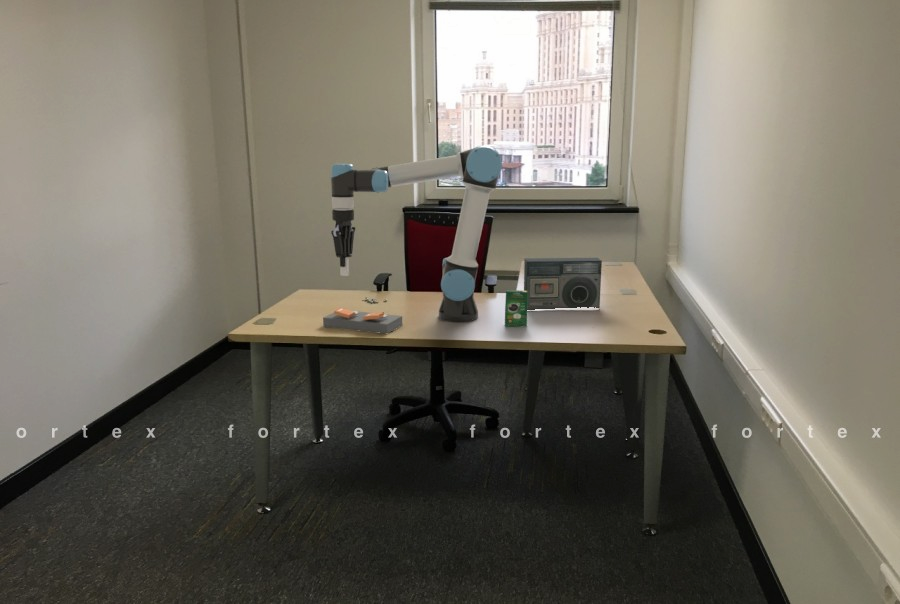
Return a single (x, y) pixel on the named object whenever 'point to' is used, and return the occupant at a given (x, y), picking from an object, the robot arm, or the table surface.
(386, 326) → the grey rectangular block
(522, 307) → the coffee box
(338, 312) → the rocker
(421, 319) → the table surface
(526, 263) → the cassette player
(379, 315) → the rocker
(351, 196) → the robot arm
